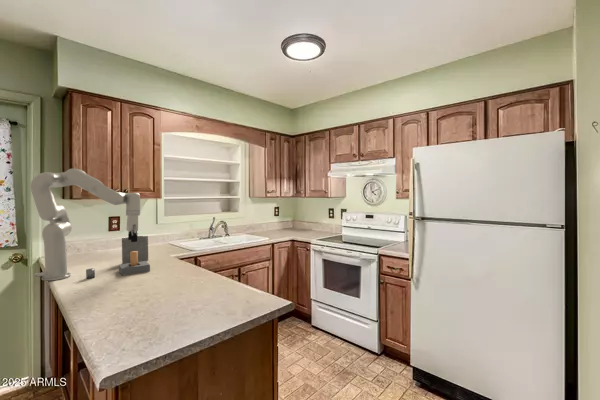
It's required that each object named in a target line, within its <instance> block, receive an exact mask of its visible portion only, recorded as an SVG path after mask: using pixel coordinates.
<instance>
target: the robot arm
mask: <svg viewBox="0 0 600 400" xmlns="http://www.w3.org/2000/svg"><path fill="white" fill-rule="evenodd" d="M74 185H75V186H76V187H79V188H81V189H82V190H85V191H86V192H88V193H91V194H92V195H93V196H95V197H97V198H99V199H101V200H103V201H105V202H107V203H109V204H111V205H114V206H119V205H125V216H126V231H127V232H128V235H127V236H128V240H131V242H137V233H138V231H139V216H141V194H140V193H139V192H128V193H127V192H121V191H120V192H118V191H117V190H115V189H112V188H110V187H108V186H106V184H104V183H103V182H102V181H101V180H99V179H97V178H95V177H94V176H91V175H89V174H88V173H86V171H84V170H83V169H79V168H69V169H67V170H66V171H62V172H52V171H51V172H50V171H47V172H46V171H44V172H41V173H38V174H37V175H35V176H34V177H33V179H32V180H31V182H30V185H29V186H30V192H31V195H32V197H33V199H34V200H33V201H34V203H35V207H36V209H37V214H38V216H39V218H40V219H41V220H43V221H45V222H46V221H49V223H47V225H45V226H44V227H43V229H42V231H41V232H42V233H41V234H42V240H43V247H44V271H42V272H36V273H34V278H39V277H41V280H42V281H47V282H48V281H49V282H51V281H58V280H63V279H66V278H69V277H70V276H71V273H70V272H68V264H67V263H68V262H67V261H68V260H67V259H68V258H67V255H68V254H67V242H66V238H65V237H67V236H68V235H70V233H71V232H72V224H71V220H70V217H69V214H68V211H67V209H66V207H65V206H64V205H62V204H60V203H57V202H56V198H55V196H54V193H53V192H52V190H51V188H63V187H70V186H74Z"/></svg>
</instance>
